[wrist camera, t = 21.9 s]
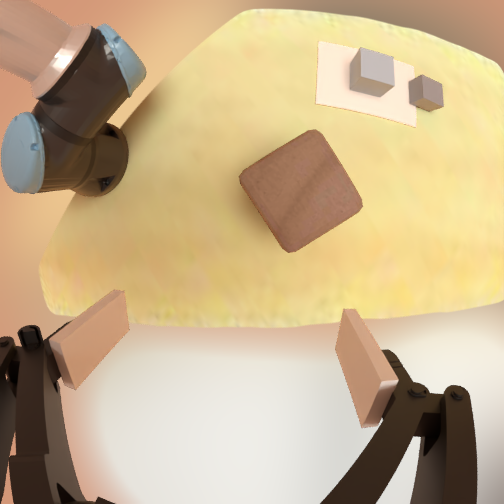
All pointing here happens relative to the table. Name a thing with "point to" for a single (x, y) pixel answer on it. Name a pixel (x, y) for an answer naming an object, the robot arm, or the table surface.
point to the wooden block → (301, 190)
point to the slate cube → (371, 73)
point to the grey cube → (425, 93)
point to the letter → (340, 96)
